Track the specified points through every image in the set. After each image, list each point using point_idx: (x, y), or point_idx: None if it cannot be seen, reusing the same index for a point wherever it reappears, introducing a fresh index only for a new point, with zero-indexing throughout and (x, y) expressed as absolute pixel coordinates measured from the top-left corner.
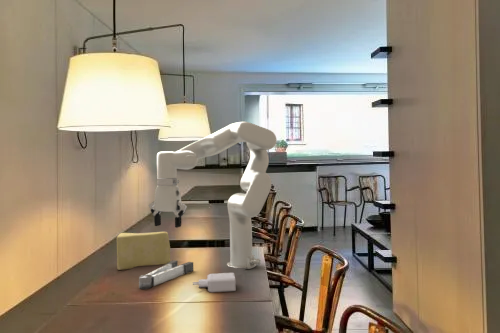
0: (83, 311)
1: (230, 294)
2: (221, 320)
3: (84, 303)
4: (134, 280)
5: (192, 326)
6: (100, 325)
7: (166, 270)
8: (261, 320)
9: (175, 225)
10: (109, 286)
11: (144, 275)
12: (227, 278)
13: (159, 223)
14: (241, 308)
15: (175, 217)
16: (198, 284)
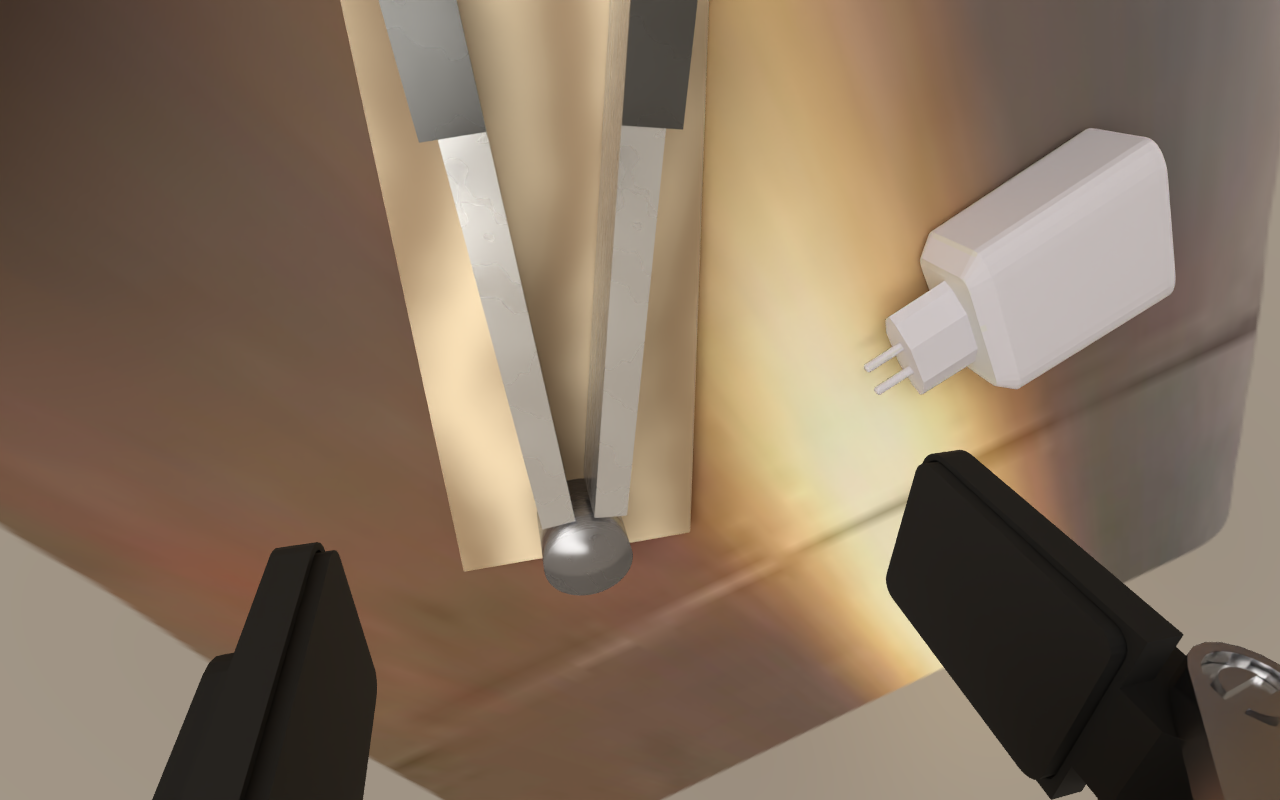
0: (526, 762)
1: None
2: None
3: (439, 734)
4: (303, 394)
5: None
6: (693, 770)
7: (613, 365)
8: (1201, 506)
9: (918, 617)
10: None
11: (566, 553)
12: (1125, 315)
13: (342, 627)
14: (1134, 454)
15: (1057, 791)
16: (908, 373)
